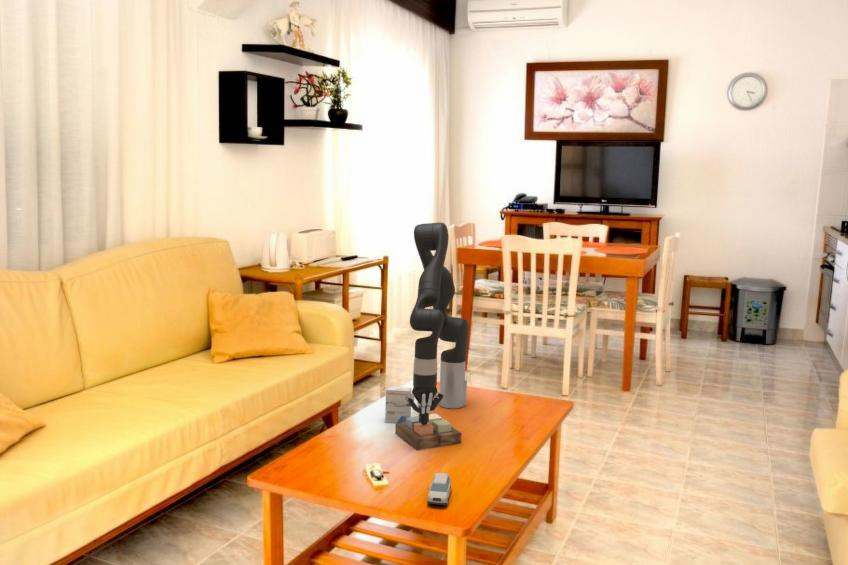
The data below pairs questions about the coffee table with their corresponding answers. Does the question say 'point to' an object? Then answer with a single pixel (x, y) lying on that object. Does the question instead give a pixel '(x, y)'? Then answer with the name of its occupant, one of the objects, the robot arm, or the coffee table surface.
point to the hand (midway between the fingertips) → (423, 423)
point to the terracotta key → (423, 429)
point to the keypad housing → (427, 437)
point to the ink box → (397, 404)
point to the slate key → (412, 421)
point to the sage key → (441, 426)
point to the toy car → (439, 490)
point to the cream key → (433, 418)
